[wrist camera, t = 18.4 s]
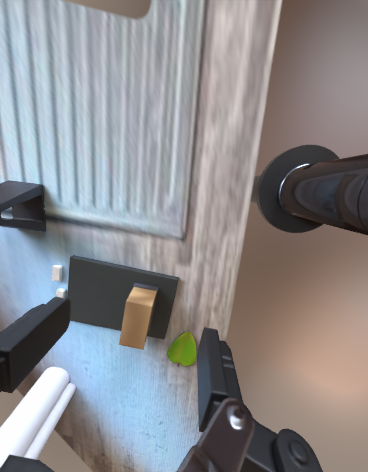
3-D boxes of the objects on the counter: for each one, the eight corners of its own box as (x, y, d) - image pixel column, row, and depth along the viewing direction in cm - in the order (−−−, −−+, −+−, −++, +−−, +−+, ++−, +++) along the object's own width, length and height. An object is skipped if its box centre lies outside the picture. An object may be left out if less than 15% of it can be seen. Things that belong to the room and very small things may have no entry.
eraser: (158, 287, 38) (153, 305, 32) (150, 327, 40) (144, 350, 35) (134, 282, 38) (125, 299, 32) (127, 322, 40) (117, 345, 34)
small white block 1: (52, 266, 37) (55, 264, 38) (51, 280, 38) (55, 277, 39) (59, 267, 37) (62, 265, 38) (59, 281, 38) (62, 279, 39)
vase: (39, 368, 46) (-70, 500, 26) (67, 365, 45) (-24, 498, 26) (54, 401, 49) (-35, 543, 29) (80, 399, 48) (8, 541, 29)
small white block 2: (56, 290, 39) (59, 287, 40) (55, 303, 40) (58, 300, 41) (63, 291, 39) (66, 289, 40) (62, 304, 40) (65, 301, 41)
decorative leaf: (159, 347, 44) (158, 351, 43) (187, 329, 42) (187, 332, 41) (180, 369, 45) (179, 373, 44) (209, 352, 42) (209, 356, 42)
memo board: (178, 277, 38) (178, 280, 37) (165, 335, 42) (164, 339, 41) (73, 255, 38) (69, 257, 37) (69, 316, 42) (65, 319, 40)
